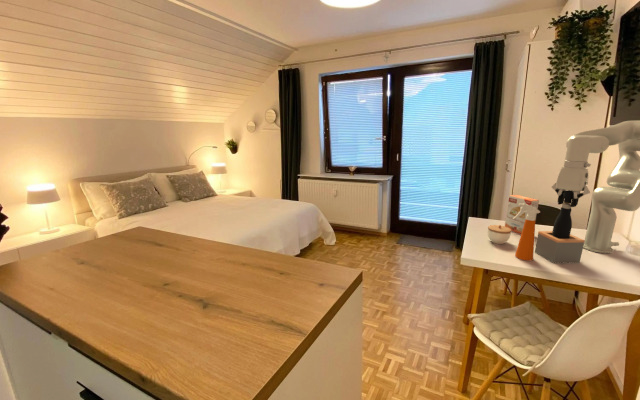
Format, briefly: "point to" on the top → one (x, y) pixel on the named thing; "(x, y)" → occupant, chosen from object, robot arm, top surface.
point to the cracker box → (514, 209)
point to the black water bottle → (564, 218)
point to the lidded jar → (498, 234)
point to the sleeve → (559, 248)
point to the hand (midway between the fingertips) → (566, 204)
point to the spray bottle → (527, 233)
